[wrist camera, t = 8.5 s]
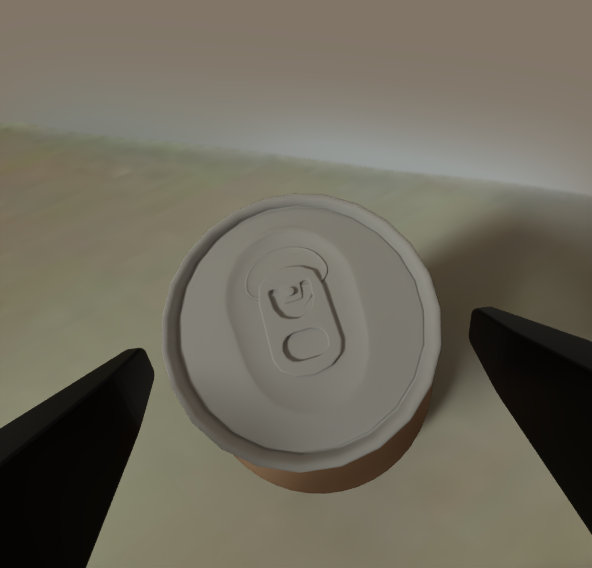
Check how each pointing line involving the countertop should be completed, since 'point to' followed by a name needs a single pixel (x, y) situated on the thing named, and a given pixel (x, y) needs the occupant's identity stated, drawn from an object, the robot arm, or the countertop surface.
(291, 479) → the disc
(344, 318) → the beverage can
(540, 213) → the countertop surface
